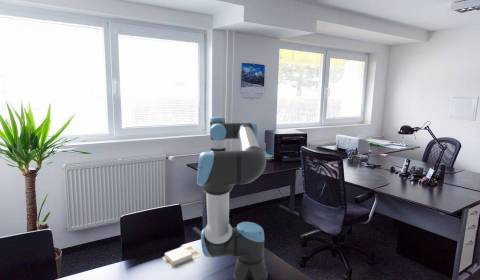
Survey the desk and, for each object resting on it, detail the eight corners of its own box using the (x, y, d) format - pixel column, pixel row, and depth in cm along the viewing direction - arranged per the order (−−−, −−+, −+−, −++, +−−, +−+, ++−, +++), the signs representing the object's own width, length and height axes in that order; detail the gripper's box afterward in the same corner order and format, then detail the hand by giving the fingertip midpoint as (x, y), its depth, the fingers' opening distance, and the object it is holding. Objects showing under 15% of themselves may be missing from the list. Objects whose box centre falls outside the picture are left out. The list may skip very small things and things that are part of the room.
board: (202, 257, 146) (202, 255, 146) (172, 270, 136) (172, 268, 136) (190, 248, 154) (190, 246, 154) (161, 259, 144) (161, 257, 144)
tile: (192, 253, 143) (173, 261, 137) (192, 258, 144) (173, 266, 137) (183, 246, 150) (164, 253, 144) (183, 250, 150) (164, 257, 144)
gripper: (224, 144, 158) (224, 187, 162) (203, 147, 150) (204, 192, 154) (232, 146, 152) (233, 191, 156) (211, 150, 144) (212, 196, 148)
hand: (218, 191), depth 155 cm, fingers closed
